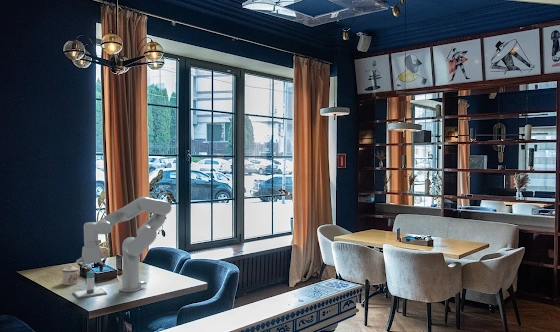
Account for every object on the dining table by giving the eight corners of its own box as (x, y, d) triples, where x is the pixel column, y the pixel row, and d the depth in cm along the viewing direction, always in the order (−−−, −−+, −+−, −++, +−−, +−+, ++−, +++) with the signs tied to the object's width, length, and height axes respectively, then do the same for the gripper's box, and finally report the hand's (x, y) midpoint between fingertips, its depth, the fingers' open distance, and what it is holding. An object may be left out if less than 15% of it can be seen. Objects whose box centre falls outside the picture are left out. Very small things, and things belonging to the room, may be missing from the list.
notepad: (100, 289, 282) (100, 287, 282) (106, 294, 272) (106, 292, 272) (72, 293, 272) (72, 291, 272) (77, 298, 263) (77, 297, 263)
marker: (92, 291, 274) (93, 270, 274) (94, 292, 271) (95, 272, 271) (85, 292, 272) (85, 271, 271) (87, 293, 269) (87, 273, 268)
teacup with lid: (69, 286, 287) (69, 267, 287) (58, 284, 291) (58, 265, 291) (84, 281, 298) (85, 263, 298) (74, 279, 302) (74, 261, 301)
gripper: (104, 240, 279) (105, 268, 280) (73, 244, 269) (75, 274, 269) (108, 242, 273) (109, 271, 274) (77, 246, 263) (78, 276, 263)
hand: (92, 272), depth 272 cm, fingers open, 9 cm apart
